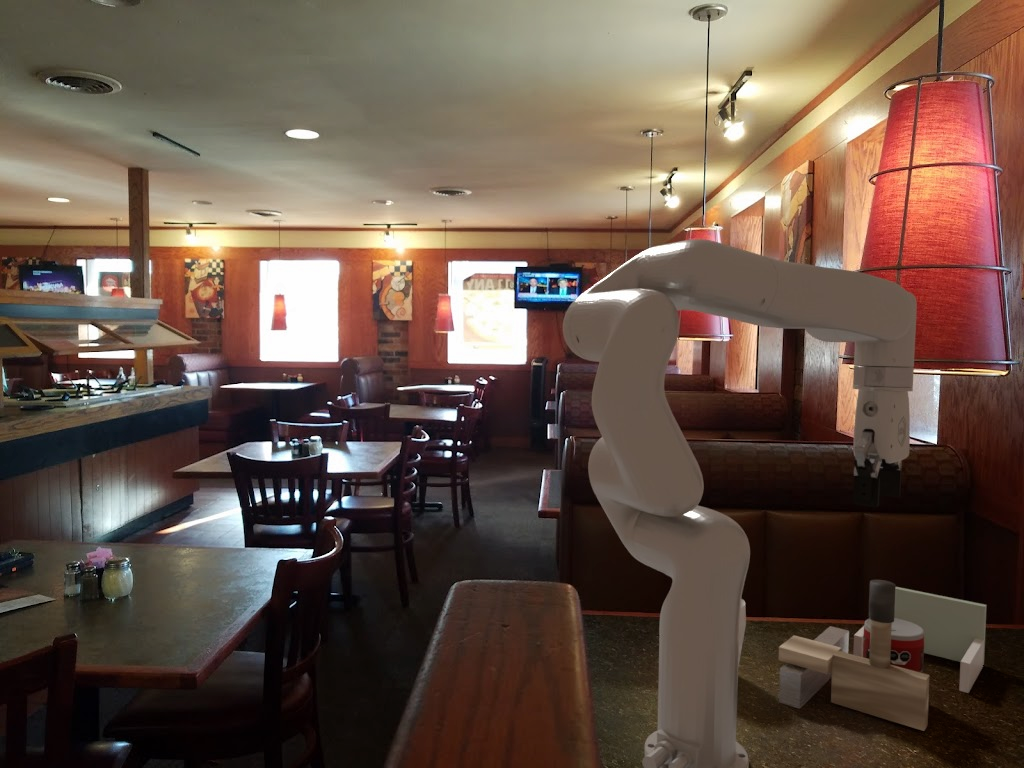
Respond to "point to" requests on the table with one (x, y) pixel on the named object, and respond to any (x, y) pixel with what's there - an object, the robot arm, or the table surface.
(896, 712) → the kicker figure
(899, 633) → the canned food
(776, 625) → the table surface
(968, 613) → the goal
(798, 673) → the rail
